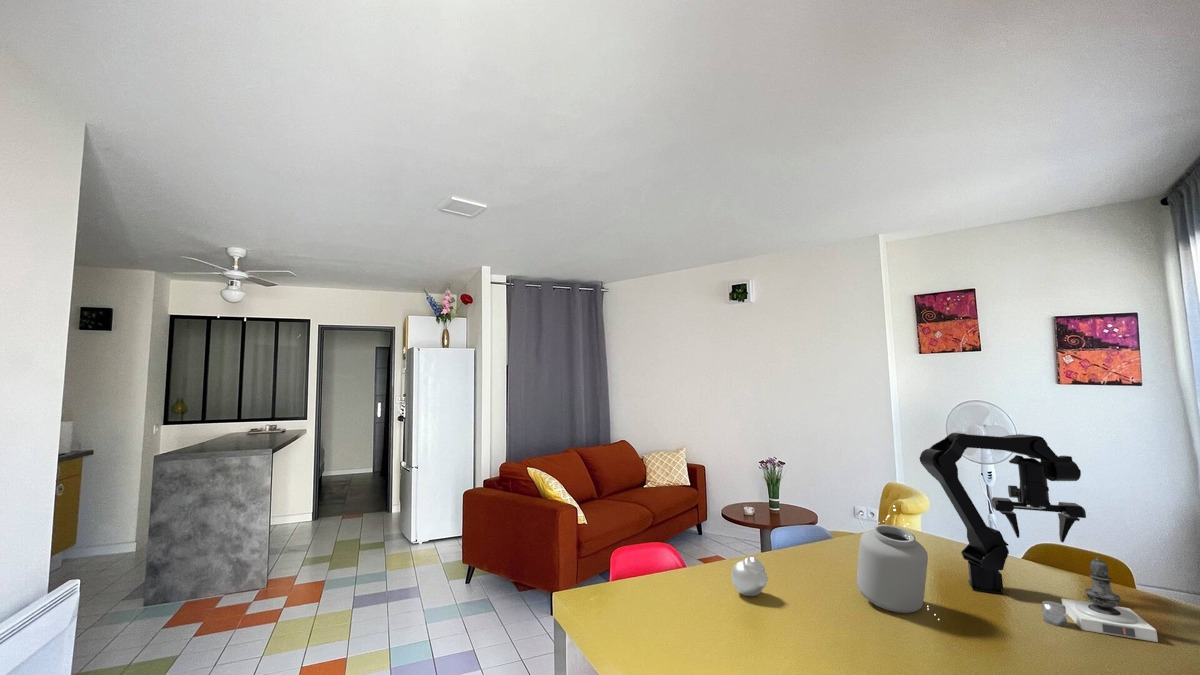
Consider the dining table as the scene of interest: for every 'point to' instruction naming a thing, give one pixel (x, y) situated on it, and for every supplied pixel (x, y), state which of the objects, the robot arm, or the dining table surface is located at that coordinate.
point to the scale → (1109, 621)
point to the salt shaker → (1101, 589)
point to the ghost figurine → (749, 576)
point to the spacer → (1054, 613)
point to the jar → (892, 569)
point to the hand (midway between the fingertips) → (1039, 539)
